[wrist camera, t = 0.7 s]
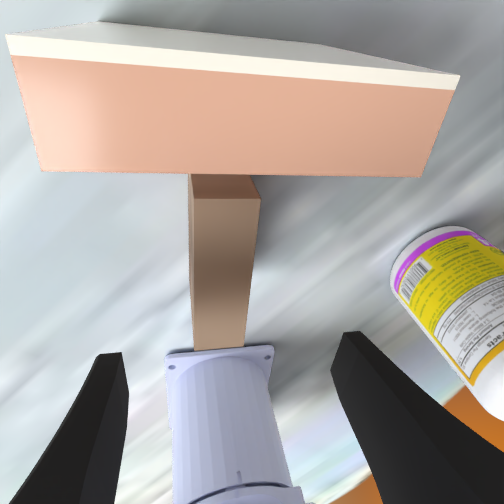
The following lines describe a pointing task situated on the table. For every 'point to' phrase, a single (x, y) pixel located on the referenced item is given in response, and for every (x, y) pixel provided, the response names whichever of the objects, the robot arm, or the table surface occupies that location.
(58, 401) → the table surface
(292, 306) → the table surface
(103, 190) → the table surface
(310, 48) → the glazed tile
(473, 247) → the supplement bottle
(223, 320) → the bar
